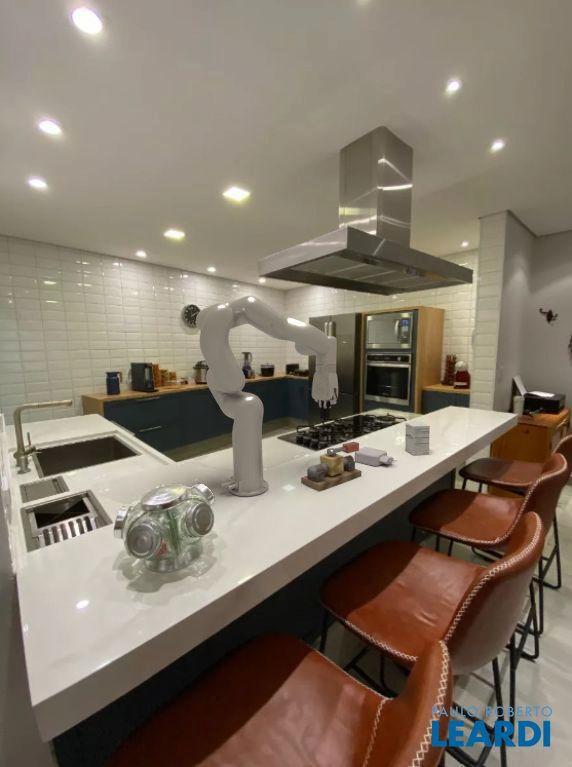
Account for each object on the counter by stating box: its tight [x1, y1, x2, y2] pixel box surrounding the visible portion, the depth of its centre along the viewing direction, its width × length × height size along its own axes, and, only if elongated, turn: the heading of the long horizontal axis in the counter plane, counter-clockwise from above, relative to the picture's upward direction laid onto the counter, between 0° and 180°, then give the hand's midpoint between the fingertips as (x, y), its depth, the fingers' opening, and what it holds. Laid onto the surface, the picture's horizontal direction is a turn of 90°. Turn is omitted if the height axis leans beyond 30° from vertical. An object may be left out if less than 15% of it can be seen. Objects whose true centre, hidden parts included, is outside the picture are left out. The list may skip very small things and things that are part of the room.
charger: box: [354, 446, 398, 467], centre depth 128 cm, size 5×9×15 cm
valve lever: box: [326, 441, 360, 454], centre depth 115 cm, size 14×3×3 cm, turn 124°
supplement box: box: [404, 421, 431, 457], centre depth 140 cm, size 7×7×13 cm
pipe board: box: [300, 453, 362, 492], centre depth 112 cm, size 20×9×9 cm, turn 127°
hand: (324, 418), depth 123 cm, fingers closed
